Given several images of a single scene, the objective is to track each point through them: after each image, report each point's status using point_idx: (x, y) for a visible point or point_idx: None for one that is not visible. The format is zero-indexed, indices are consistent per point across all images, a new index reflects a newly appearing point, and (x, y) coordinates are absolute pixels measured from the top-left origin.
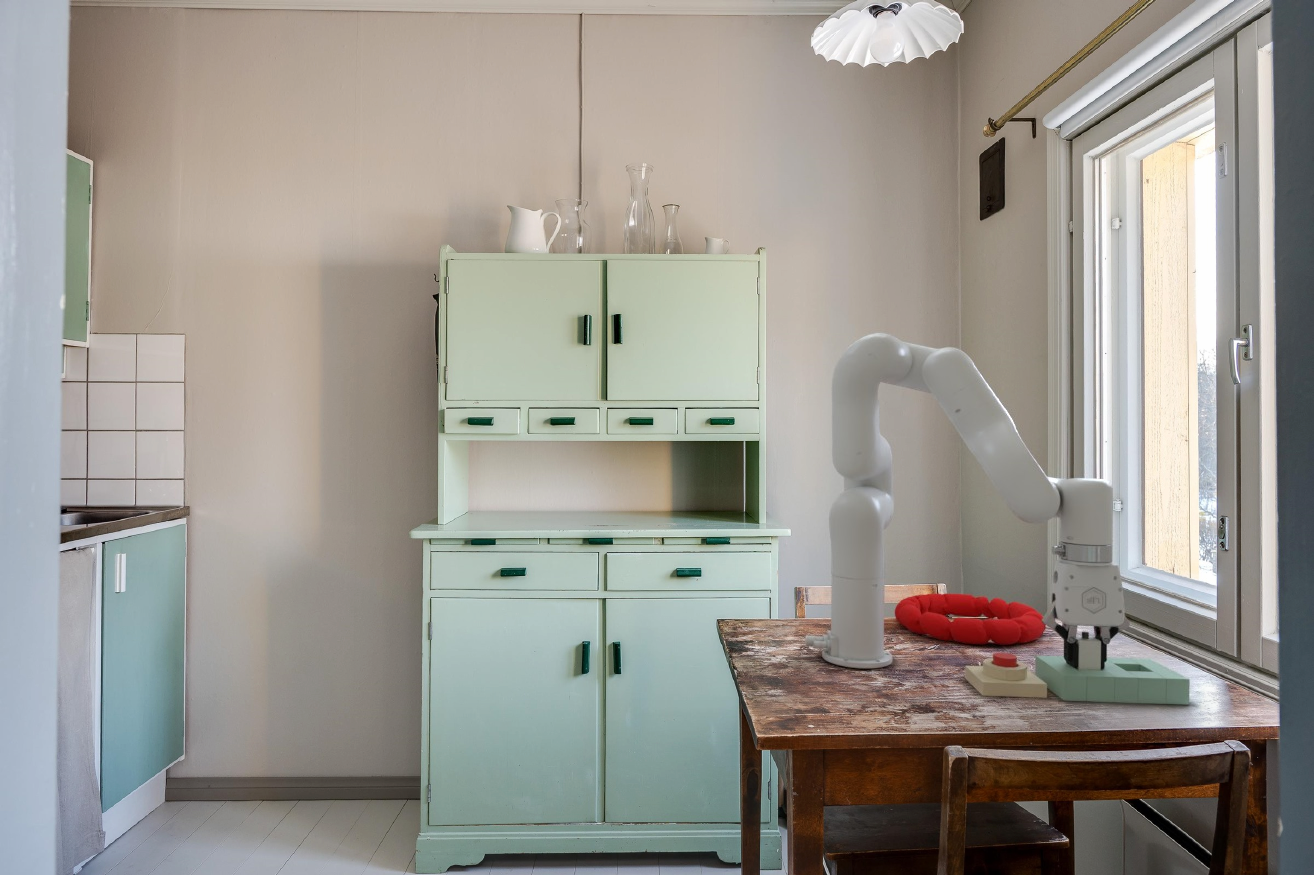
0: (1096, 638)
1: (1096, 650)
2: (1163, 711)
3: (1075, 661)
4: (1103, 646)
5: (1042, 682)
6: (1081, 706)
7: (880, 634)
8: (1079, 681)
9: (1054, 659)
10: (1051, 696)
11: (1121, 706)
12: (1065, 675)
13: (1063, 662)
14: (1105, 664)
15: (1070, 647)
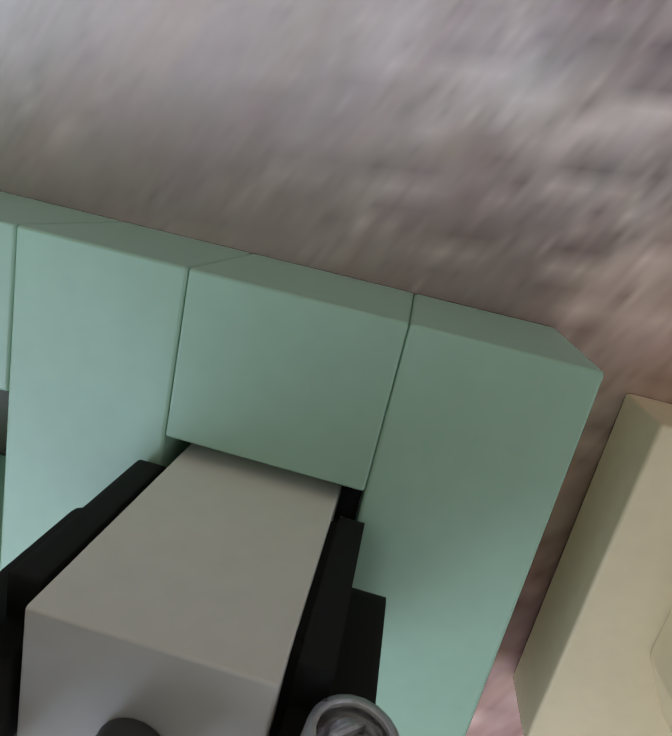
0: (6, 711)
1: (133, 553)
2: (62, 66)
3: (353, 545)
4: (36, 562)
5: (669, 463)
6: (516, 216)
7: None
8: (467, 330)
9: None
10: None
11: (256, 184)
12: (594, 368)
13: None
14: None
15: (351, 679)
